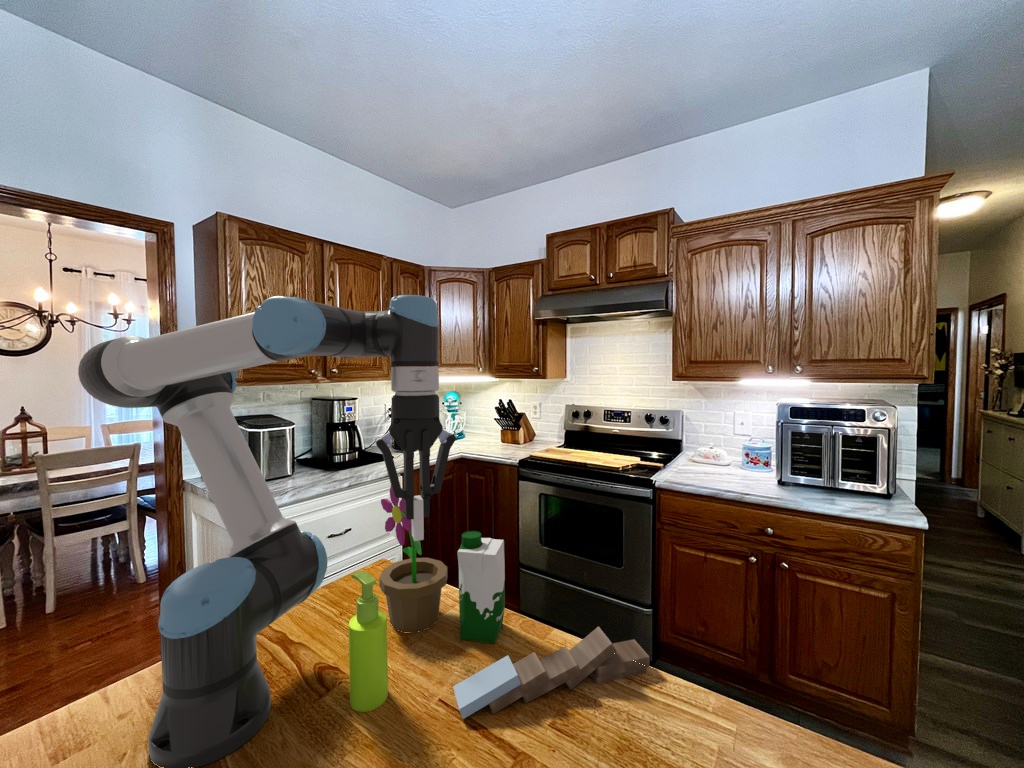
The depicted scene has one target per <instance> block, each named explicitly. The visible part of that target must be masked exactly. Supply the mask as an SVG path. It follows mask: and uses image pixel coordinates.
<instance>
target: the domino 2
mask: <svg viewBox="0 0 1024 768" xmlns="http://www.w3.org/2000/svg"><path fill="white" fill-rule="evenodd" d="M512 664H513V666H514V668H515V670H516V672H517V674H518V677H519V680H520V683H521V685H519V686H518V687H516V688H514V689H513V690H511V691H509V692H508V693H506V694H504V695H503V696H501V697H499V698H498V699H496V700H494V701H493V702H491V703H489V704H488V705H489V708H490V710H491V714H492V715H494V714H496V713H497V712H499V711H501V710H503V709H505V708H506V707H508V706H509V705H511V704H512V703H514V702H516V701H517V700H519V699H521V698H523V696H524V695H526V694H527V693H529V692H531V691H532V690H534V689H536V688H537V687H539V686H541V685H542V684H544V683H546V682H547V681H549V679H548V677H547V674H546V671H545V669H544V667H543V666H542V664H541V662H540V658H539V657H538V655H537V653H536V652H535V651H533V652H532V653H531V652H530V654H528V655H526V656H525V657H522V658H521V659H519V660H517V661H516V662H514V663H512Z"/></svg>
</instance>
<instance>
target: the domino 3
mask: <svg viewBox="0 0 1024 768" xmlns="http://www.w3.org/2000/svg"><path fill="white" fill-rule="evenodd" d="M569 650H570V649H568V647H567V646H566V645H565V646H563V647H561V648H559V649H557V650H555V651H554V652H552V653H549V654H548V655H546V656H543V657H542V658H539V660H540V662H541V664H542V666H543V667H544V669H545V671H546V674H547V677H548V679H549V681H547V682H546V683H544V684H542V685H541V686H539V687H537V688H536V689H534V690H532V691H531V692H529V693H527V694H526V695H524V696H522V698H523V701H524V703H525V704H528V703H530V702H531V701H533V700H535V699H537V698H539V697H541V696H542V695H546V694H547V693H548V692H550V691H552V690H553V689H554V690H555V688H557V687H560V686H562V685H563V684H566V682H567V681H569V680H571V679H573V678H574V677H576V676H578V675H580V672H579V669H578V665H577V664H576V662H575V660H574V659H573V657H572V655H571V654H570V652H569Z"/></svg>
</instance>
